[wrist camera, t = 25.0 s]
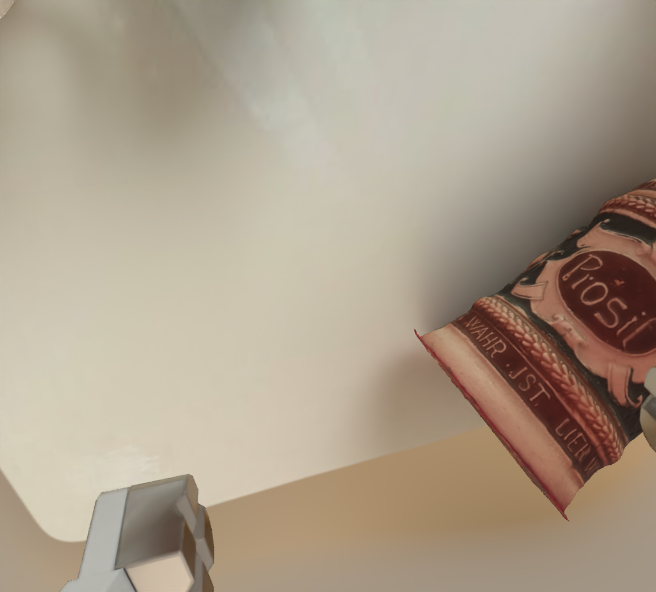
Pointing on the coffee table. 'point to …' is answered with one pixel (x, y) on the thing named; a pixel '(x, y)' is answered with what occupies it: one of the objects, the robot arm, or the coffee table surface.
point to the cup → (5, 6)
